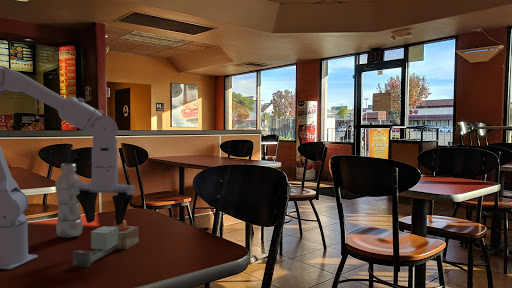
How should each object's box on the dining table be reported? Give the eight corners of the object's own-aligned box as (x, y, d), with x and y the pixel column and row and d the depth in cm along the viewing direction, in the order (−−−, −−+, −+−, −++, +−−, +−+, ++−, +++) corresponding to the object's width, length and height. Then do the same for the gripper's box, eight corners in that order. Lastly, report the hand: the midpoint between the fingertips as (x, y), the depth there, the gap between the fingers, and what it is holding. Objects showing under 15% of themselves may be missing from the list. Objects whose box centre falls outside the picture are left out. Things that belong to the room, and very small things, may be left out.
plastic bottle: (72, 241, 101) (71, 165, 100) (50, 239, 103) (48, 164, 101) (88, 234, 107) (87, 163, 106) (66, 232, 109) (65, 162, 108)
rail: (73, 266, 83) (72, 251, 83) (107, 247, 96) (107, 234, 96) (87, 267, 83) (87, 252, 83) (120, 248, 95) (120, 235, 95)
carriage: (91, 248, 90) (90, 231, 90) (103, 242, 95) (103, 225, 95) (106, 249, 89) (106, 232, 89) (118, 243, 94) (118, 226, 94)
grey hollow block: (101, 247, 96) (101, 231, 96) (114, 240, 102) (114, 225, 102) (126, 249, 95) (126, 233, 95) (138, 241, 101) (138, 226, 101)
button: (111, 238, 97) (111, 222, 97) (118, 234, 100) (118, 219, 100) (122, 238, 97) (122, 223, 97) (128, 235, 100) (128, 220, 100)
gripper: (141, 165, 94) (141, 220, 95) (88, 163, 97) (88, 217, 97) (125, 168, 87) (125, 228, 88) (69, 166, 90) (69, 224, 90)
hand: (105, 222), depth 92 cm, fingers open, 7 cm apart
